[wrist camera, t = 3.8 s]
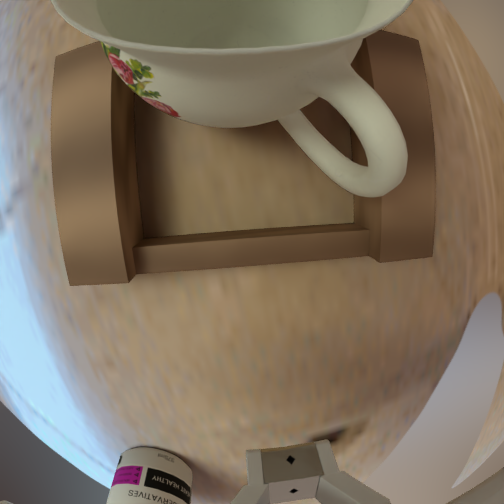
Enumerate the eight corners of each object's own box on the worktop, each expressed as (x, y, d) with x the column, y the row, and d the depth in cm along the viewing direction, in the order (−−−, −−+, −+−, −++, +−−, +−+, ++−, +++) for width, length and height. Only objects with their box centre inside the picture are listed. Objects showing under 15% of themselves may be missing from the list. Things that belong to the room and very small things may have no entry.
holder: (83, 73, 15) (55, 56, 11) (390, 57, 16) (418, 40, 12) (96, 265, 19) (70, 285, 15) (401, 242, 20) (432, 256, 16)
